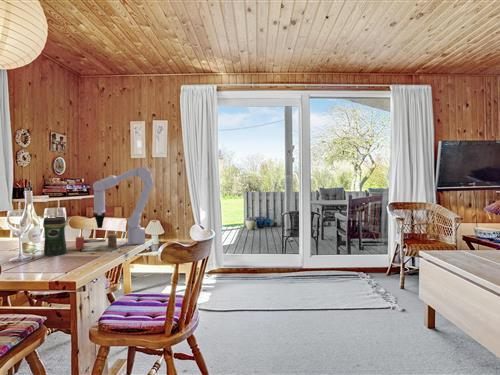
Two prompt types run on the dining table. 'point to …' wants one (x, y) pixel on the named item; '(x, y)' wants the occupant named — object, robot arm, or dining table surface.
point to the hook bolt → (86, 241)
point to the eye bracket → (111, 245)
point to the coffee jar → (54, 236)
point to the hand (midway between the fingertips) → (99, 227)
